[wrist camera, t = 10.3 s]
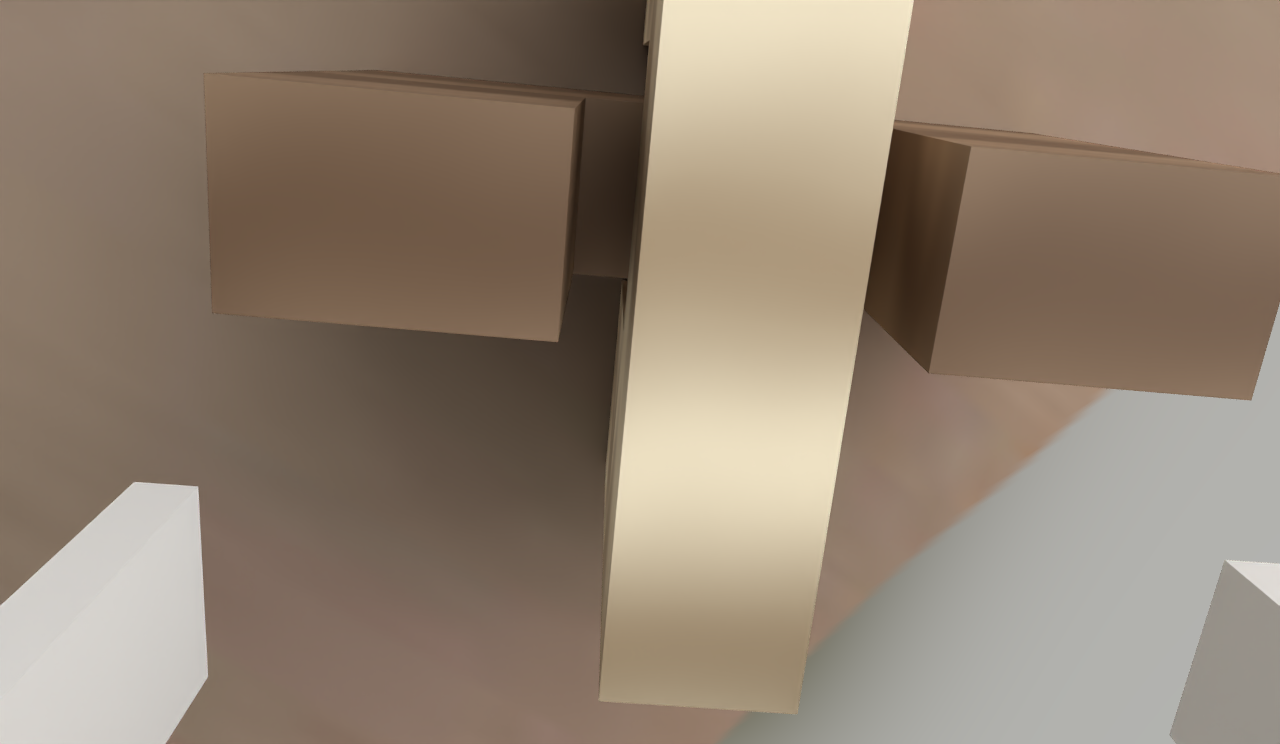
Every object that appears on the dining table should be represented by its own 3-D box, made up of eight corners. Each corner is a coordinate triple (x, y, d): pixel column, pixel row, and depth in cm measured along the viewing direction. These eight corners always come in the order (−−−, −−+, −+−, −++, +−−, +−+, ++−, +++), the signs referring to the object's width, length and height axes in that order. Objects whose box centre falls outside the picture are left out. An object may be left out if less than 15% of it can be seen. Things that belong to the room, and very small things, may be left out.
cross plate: (664, -197, 19) (701, -411, 11) (816, -181, 19) (975, -378, 11) (605, 466, 23) (598, 701, 15) (731, 476, 23) (797, 714, 15)
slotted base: (377, 70, 21) (203, 73, 12) (1033, 133, 21) (1315, 179, 13) (375, 213, 21) (212, 312, 13) (1004, 270, 22) (1251, 400, 13)
